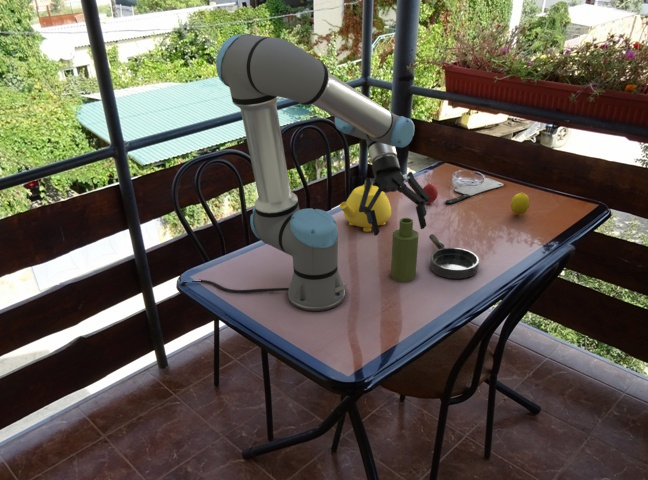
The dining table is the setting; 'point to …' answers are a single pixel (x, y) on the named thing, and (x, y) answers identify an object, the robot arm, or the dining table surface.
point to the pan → (454, 263)
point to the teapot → (354, 201)
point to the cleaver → (475, 189)
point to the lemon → (520, 203)
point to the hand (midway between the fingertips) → (400, 230)
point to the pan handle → (436, 241)
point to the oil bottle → (404, 251)
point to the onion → (431, 192)
